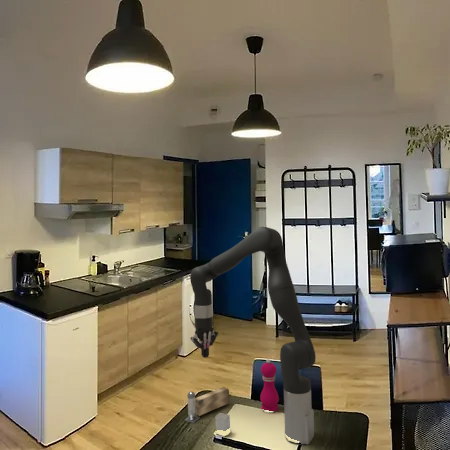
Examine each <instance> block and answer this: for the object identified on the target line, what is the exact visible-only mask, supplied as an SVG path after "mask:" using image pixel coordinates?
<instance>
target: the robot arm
mask: <svg viewBox="0 0 450 450" xmlns="http://www.w3.org/2000/svg"><path fill="white" fill-rule="evenodd" d="M283 243H284V242H283V238H282V236H281V233H280V232H279V231H278V230H277V229H274V228H271V227H268V226H260V227H257V228H256V229H255V230H253V231H252V232H251V233H249V234H248V235H247V236H245V238H243V239H242V240H241V241H239V242H238V243H236V244H235V245H233V247H231V248H229V249H227V250H226V251H224V252H223V253H221V254H218V255H217V256H215V257H213V258H211V260H210V261H209V262H207V263H205V264H202V265H200V266H196V267H194V268H192V270H191V272H190V274H189V277H190V279H189V280H190V286H191V287H192V291H193V294H194V296H193V297H194V306H193V307H194V308H193V310H194V311H193V312H194V328H195V331H194V335H193V336H191V337H190V341H191V342H192V343H193V345H195V346H196V348H198V349H201V352H200V353H201V356H202V358H204V359H206V358H208V357H209V356H210V347H211V346H213V345H214V343H215V341H216V339H217V337H218V335H219V332H218V331H215V330H214V308H213V294H212V291H211V289H209V288H208V287H207V283H208V282H211V281H212V280H215V279H216V278H217V277H218V276H220V275H223V274H225V273H226V272H228V271H231V269H234V268H235V267H237V266H238V265H239V264H240V263H241V262H242V261H243V260H244V259H246V258H247V257H248V256H250V255H253V254H256V253H258V252H262V253H263V254H264V256H265V258H266V262H267V266H268V279H267V291H268V295H269V299H270V302H271V306H272V308H273V310H274V311H275V313H276V314H278V316H279V317H280V318H281V319H282V320H283V321H284V322H285V324H287V326H288V327H289V329H290V331H291V333H292V336H293V338H294V341H291V342H286V343H284V344H283V345H282V346H281V348H280V353H279V356H280V358H279V360H280V371H281V372H280V373H281V380H282V383H283V407H284V408H283V411H284V412H283V413H284V416H283V417H284V435H285V434H286V435H287V436H288V437H290V438H291V439H294V440H297V441H300V443H301V444H300V445H309V444H310V443H311V442H312V440H313V438H314V437H315V422H314V421H315V420H314V419H315V416H314V414H315V413H314V409H313V408H312V383H311V380H310V379H309V378H308V377H306V376H304V375H300V374H299V373H300V372H299V370H303V369H308V368H310V367H313V366H314V365H315V363H316V351H315V347H314V345H313V343H312V340H311V336H310V335H309V331H308V328H307V327H306V324H305V321H304V318H303V315H302V312H301V311H302V310H301V308H300V305H299V301H298V297H297V293H296V290H295V287H294V283H293V280H292V277H291V273H290V270H289V267H288V263H287V259H286V255H285V249H284V244H283Z"/></svg>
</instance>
